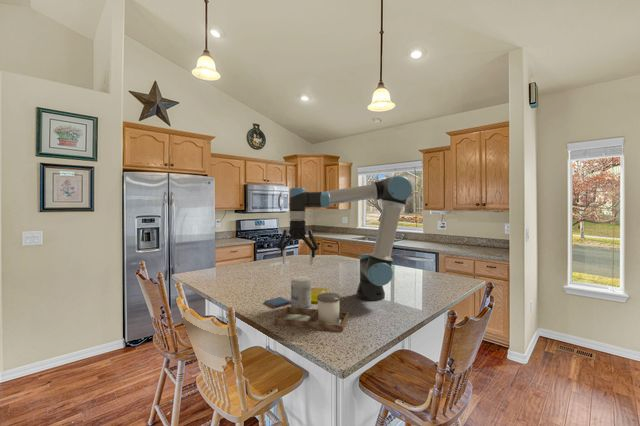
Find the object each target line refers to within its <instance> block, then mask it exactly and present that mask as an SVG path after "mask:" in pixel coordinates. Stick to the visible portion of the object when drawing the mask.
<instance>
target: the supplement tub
mask: <svg viewBox="0 0 640 426" xmlns="http://www.w3.org/2000/svg"><path fill="white" fill-rule="evenodd" d="M290 284H291V286H290V287H291V288H290V289H291V290H290V293H291V294H290V298H291V299H290V301H291V304H290V307H297V308H308V309H312V304H311V288H312V278H311V277H309V276H304V275H302V276H300V275H299V276H294V277H292V278H291V283H290Z"/></svg>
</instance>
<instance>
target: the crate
mask: <svg viewBox="0 0 640 426" xmlns="http://www.w3.org/2000/svg"><path fill="white" fill-rule="evenodd" d="M290 313H292V314H290ZM293 313H294V314H293ZM289 314H290V315H289ZM309 315H311V316H309ZM340 318H343V320H341V319H340ZM349 318H350V312H348V311H339V324H328V323H319V322H318V308H317V309H316V308H310V309H308V308H297V307H291V306H287V307H286V308H285V309H283V310H282V311H281V312H280V313H279V314H278V315H277V316H276V317H275V318H274V326H275V327H276V326H277V325H283V326H291V327H298V328H299V327H300V328H306V329H307V328H309V329H316V330H324V331H325V330H326V331H335V332H343V331H344V329H345V327H346V325H347V323H348V320H349ZM315 319H316V320H315Z"/></svg>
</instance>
